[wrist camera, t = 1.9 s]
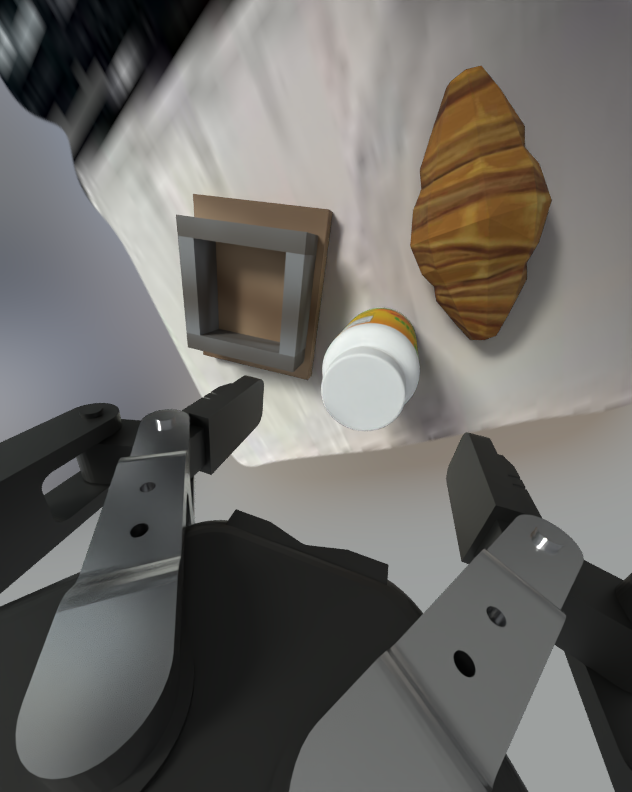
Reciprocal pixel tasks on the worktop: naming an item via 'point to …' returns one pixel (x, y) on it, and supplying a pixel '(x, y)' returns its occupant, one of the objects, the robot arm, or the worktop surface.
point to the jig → (254, 281)
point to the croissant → (478, 205)
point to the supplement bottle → (371, 370)
